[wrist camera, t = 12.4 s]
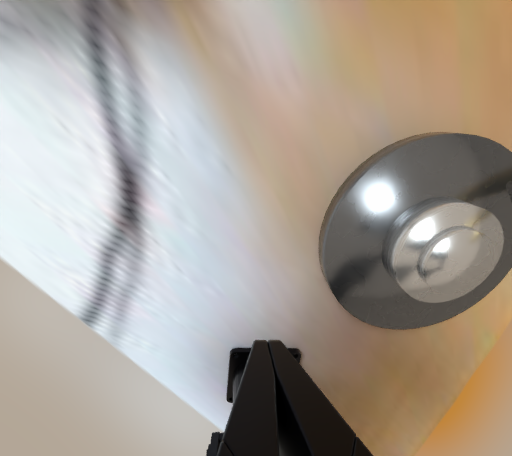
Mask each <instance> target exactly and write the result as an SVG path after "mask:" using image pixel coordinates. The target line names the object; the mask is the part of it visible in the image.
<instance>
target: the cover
mask: <svg viewBox="0 0 512 456" xmlns="http://www.w3.org/2000/svg"><path fill="white" fill-rule="evenodd" d="M503 244H504V235H503V230H502V226H501V224H500V222H499V220H498V219H497V218H496V217H495V216H494V215H493V214H492V213H491V212H489V211H488V210H486V209H483V208H481V207H478V206H475V205H473V204H470V203H467V202H465V201H462V200H459V199H457V198H453V197H445V196H442V197H433V198H429V199H426V200H423V201H421V202H419V203H416V204H415V205H413V206H411V207H410V208H408V209H407V210H406V211H404V212H403V213H402V214H401V215H400V216H399V217H398V218H397V219H396V220H395V221H394V223H393V224H392V225H391V227H390V228H389V230H388V232H387V234H386V236H385V239H384V242H383V245H382V262H383V265H384V268H385V270H386V272H387V273H388V274H389V276H390V277H391V278H392V279H393V280H394V281H395V282H396V283H397V284H398V285H399V286H400V287H401V288H402V289H403V290H404V291H405V292H406V293H407V294H408V295H410V296H411V297H413V298H414V299H417V300H419V301H423V302H428V303H439V302H446V301H450V300H453V299H456V298H458V297H461V296H463V295H465V294H467V293H468V292H470V291H472V290H473V289H475V288H476V287H477V286H478V285H480V284H481V283H482V282H483V281H484V280H485V279H486V278H487V277H488V276H489V274H490V273H491V272H492V270H493V269H494V268H495V266H496V264H497V262H498V260H499V258H500V256H501V253H502V249H503Z"/></svg>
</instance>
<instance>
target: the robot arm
mask: <svg viewBox="0 0 512 456" xmlns="http://www.w3.org/2000/svg"><path fill="white" fill-rule="evenodd" d="M234 354H237V355H234ZM294 354H296V355H294ZM300 358H301V354H300V351H299V350H298V349H287V348H286V347H285V345H284V344H283V343H282V342H281V341H280V340H269V341H266V340H255V341H254V342H253V345H252V348H235V349H232V350H231V351H230V359H229V372H228V385H227V401H228V402H230V403H233V407H232V410H231V413H230V416H229V419H228V422H227V425H226V429H225V432H224V433H220V432H215V433H212V437H211V444H209V446H208V450H207V456H373V455H372V454H371V452H370V451H369V450H368V449H367V447H366V446H365V445H364V444H363V442H362V441H361V440H360V439H359V438H358V437H356V434H355V433H354V431H353V430H352V429H351V428H350V426H349V425H348V424H347V423H346V421H345V420H344V419H343V418H342V416H341V415H340V414H339V413H338V411H337V410H336V409H335V408H334V407H333V405H332V404H331V403H330V402H329V400H328V399H327V398H326V397H325V395H324V394H323V393H322V392H321V390H320V389H319V388H318V387H317V385H316V384H315V383H314V382H313V380H312V379H311V378H310V377H309V375H308V374H307V373H306V372H305V370H304V369H303V368H302V367H301V365H300V364H299V362H300Z"/></svg>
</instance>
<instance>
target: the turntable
mask: <svg viewBox="0 0 512 456" xmlns="http://www.w3.org/2000/svg"><path fill="white" fill-rule="evenodd" d="M442 196H445V197H453V198H457V199H459V200H462V201H465V202H467V203H470V204H473V205H475V206H478V207H481V208H483V209H486V210H488V211H489V212H491V213H492V214H493V215H494V216H495V217H496V218H497V219H498V220H499V222H500V224H501V226H502V230H503V235H504V244H503V249H502V253H501V256H500V258H499V260H498V262H497V264H496V266H495V268H494V269H493V270H492V272H491V273H490V274H489V276H488V277H487V278H486V279H485V280H484V281H483V282H482V283H481V284H480V285H478V286H477V287H476V288H475V289H473V290H472V291H470V292H468V293H467V294H465V295H463V296H461V297H458V298H456V299H453V300H450V301H446V302H439V303H428V302H423V301H419V300H417V299H414V298H413V297H411V296H410V295H408V294H407V293H406V292H405V291H404V290H403V289H402V288H401V287H400V286H399V285H398V284H397V283H396V282H395V281H394V280H393V279H392V278H391V277H390V276H389V274H388V273H387V272H386V270H385V268H384V265H383V262H382V245H383V242H384V239H385V236H386V234H387V232H388V230H389V228H390V227H391V225H392V224H393V223H394V221H395V220H396V219H397V218H398V217H399V216H400V215H401V214H402V213H403V212H404V211H406V210H407V209H408V208H410V207H411V206H413V205H415V204H416V203H419V202H421V201H423V200H426V199H429V198H433V197H442ZM319 260H320V265H321V269H322V272H323V275H324V277H325V280H326V282H327V283H328V285H329V287H330V289H331V290H332V292H333V294H334V295H335V297H336V298H337V300H338V302H339V303H340V304H341V305H342V306H343V307H344V308H345V309H346V310H347V311H348V312H349V313H350V314H352V315H353V316H354V317H356V318H358V319H360V320H361V321H363V322H366V323H368V324H371V325H374V326H377V327H381V328H388V329H413V328H420V327H425V326H429V325H433V324H436V323H439V322H442V321H444V320H447V319H449V318H452V317H454V316H456V315H458V314H460V313H462V312H463V311H465V310H467V309H468V308H470V307H471V306H473V305H474V304H476V303H477V302H478V301H480V300H481V299H482V298H484V297H485V296H486V295H487V294H488V293H489V292H491V291H492V290H493V289H494V288H495V287H496V286H497V285H498V284H499V283H500V282H501V280H502V279H503V278H504V277H505V276H506V274H507V273H508V272H509V271H510V269H511V268H512V152H511V151H509V150H508V149H506V148H505V147H504V146H502V145H501V144H499V143H497V142H495V141H492V140H490V139H488V138H484V137H480V136H477V135H469V134H459V133H447V132H437V133H426V134H420V135H415V136H412V137H409V138H406V139H403V140H400V141H398V142H395V143H393V144H391V145H389V146H387V147H385V148H383V149H382V150H380V151H379V152H377V153H375V154H374V155H372V156H371V157H370V158H368V159H367V160H366V161H365V162H363V163H362V164H361V165H360V166H359V167H358V168H357V169H356V170H355V171H354V172H353V173H352V174H351V175H350V176H349V177H348V178H347V179H346V180H345V182H344V183H343V184H342V185H341V187H340V188H339V190H338V191H337V193H336V194H335V196H334V197H333V199H332V201H331V203H330V205H329V207H328V209H327V211H326V214H325V217H324V220H323V223H322V226H321V231H320V236H319Z"/></svg>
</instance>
